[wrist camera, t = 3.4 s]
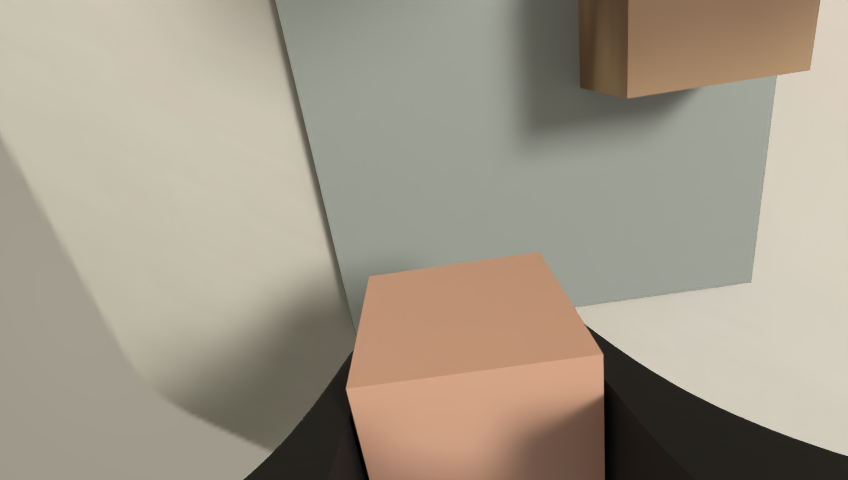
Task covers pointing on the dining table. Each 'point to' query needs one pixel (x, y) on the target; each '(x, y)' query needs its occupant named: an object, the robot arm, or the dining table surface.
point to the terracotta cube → (476, 376)
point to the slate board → (519, 150)
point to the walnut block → (690, 43)
